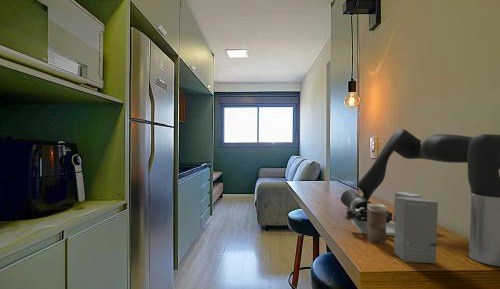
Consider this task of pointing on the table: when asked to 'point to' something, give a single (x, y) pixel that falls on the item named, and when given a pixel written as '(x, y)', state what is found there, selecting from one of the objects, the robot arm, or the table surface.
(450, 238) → the table surface
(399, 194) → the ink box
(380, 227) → the walnut block
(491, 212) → the robot arm
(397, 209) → the skincare box
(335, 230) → the table surface
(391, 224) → the mat
